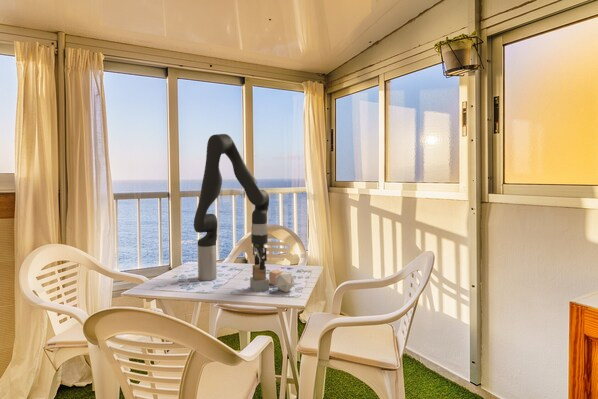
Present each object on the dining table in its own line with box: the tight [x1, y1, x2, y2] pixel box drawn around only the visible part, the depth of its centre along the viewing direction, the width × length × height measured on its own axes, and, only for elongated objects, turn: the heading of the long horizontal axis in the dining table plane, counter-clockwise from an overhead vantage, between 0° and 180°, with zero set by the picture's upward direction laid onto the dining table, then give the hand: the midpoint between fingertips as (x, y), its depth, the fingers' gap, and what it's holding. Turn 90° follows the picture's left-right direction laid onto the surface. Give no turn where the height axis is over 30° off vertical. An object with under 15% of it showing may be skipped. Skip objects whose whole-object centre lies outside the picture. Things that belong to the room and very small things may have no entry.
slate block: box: [249, 276, 270, 293], centre depth 172 cm, size 7×7×5 cm
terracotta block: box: [268, 269, 284, 287], centre depth 180 cm, size 5×5×6 cm
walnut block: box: [252, 264, 267, 281], centre depth 171 cm, size 5×5×6 cm
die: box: [274, 271, 296, 293], centre depth 169 cm, size 8×9×10 cm
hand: (259, 267), depth 172 cm, fingers open, 8 cm apart
